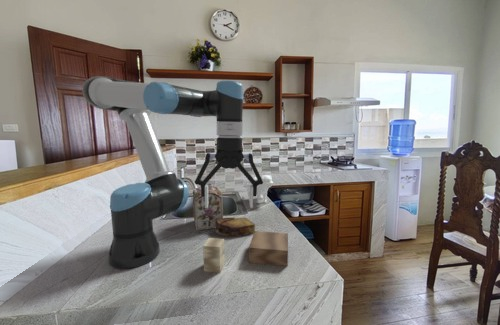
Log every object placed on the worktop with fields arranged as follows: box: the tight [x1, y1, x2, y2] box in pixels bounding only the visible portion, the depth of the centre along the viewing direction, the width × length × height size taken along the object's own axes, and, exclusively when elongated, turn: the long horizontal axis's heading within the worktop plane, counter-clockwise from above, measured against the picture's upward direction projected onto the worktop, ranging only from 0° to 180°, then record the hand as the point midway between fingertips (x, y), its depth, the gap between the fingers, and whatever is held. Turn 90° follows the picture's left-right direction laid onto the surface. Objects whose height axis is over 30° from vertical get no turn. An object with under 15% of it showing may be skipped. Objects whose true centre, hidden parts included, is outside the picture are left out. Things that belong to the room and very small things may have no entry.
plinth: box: [248, 230, 289, 267], centre depth 77 cm, size 12×12×5 cm
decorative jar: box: [192, 182, 224, 231], centre depth 101 cm, size 12×12×18 cm
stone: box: [214, 217, 256, 237], centre depth 95 cm, size 15×9×5 cm, turn 106°
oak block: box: [202, 237, 226, 274], centre depth 70 cm, size 5×5×8 cm
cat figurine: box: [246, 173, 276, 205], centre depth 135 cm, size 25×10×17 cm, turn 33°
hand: (229, 206), depth 71 cm, fingers open, 13 cm apart
